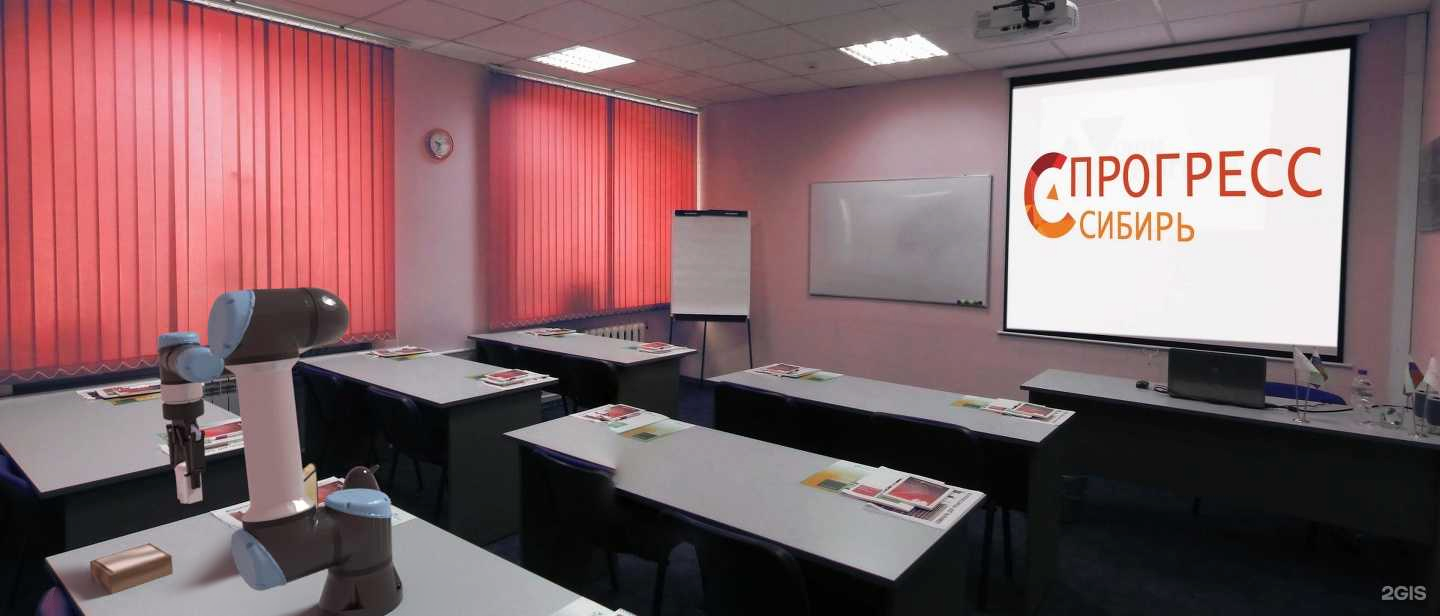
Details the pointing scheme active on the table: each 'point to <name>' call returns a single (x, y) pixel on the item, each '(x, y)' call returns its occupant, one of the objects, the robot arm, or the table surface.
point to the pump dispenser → (361, 479)
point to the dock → (131, 568)
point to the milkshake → (181, 481)
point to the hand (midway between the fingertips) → (190, 499)
